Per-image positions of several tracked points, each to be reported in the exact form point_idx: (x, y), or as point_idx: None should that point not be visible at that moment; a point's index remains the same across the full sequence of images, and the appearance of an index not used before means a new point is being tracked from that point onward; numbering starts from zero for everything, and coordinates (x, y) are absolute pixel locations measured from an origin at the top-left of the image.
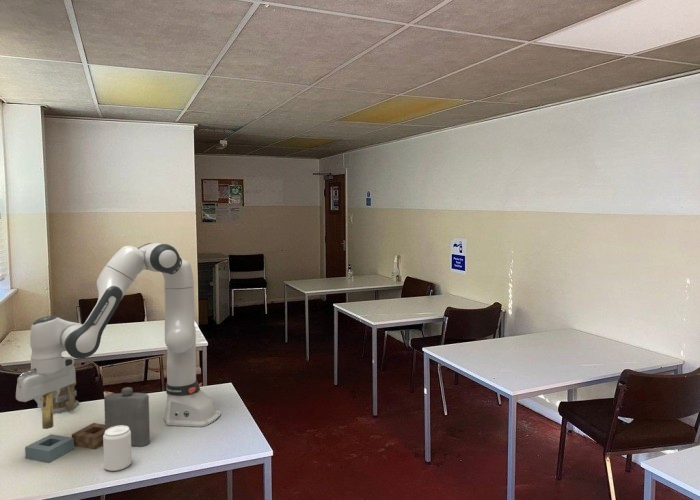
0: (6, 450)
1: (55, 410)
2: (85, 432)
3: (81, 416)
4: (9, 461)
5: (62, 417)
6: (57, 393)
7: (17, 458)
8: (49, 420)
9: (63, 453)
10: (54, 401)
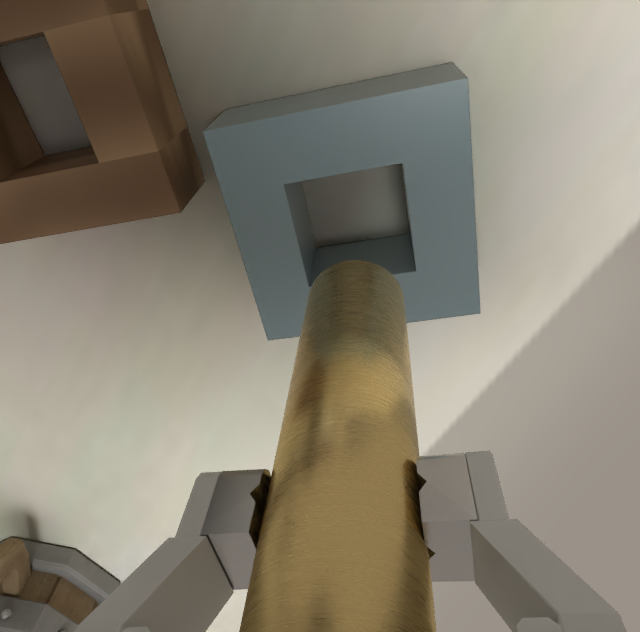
0: (436, 435)
1: (81, 573)
2: (89, 139)
3: (4, 457)
4: (525, 318)
5: (81, 512)
6: (143, 601)
7: (481, 313)
8: (367, 304)
9: (319, 92)
10: (243, 484)
